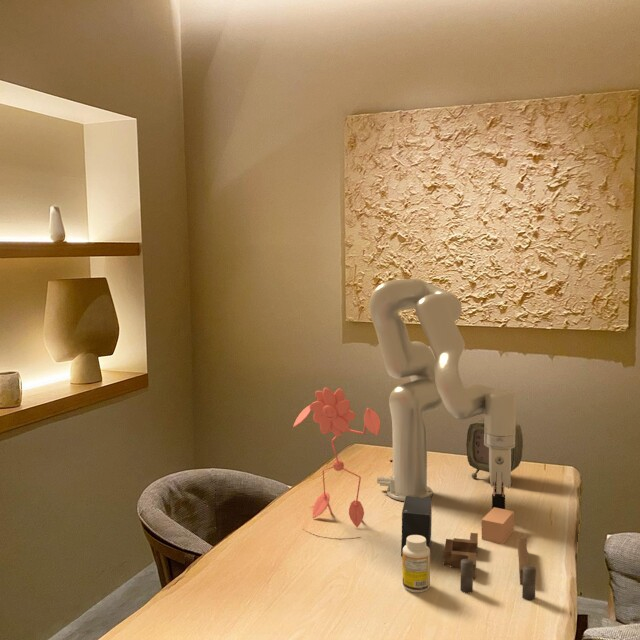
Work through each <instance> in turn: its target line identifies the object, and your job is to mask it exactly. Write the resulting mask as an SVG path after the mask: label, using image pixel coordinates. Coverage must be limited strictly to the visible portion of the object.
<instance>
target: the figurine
mask: <svg viewBox="0 0 640 640" xmlns="http://www.w3.org/2000/svg"><path fill="white" fill-rule="evenodd" d="M314 396H315V399H316V401H313V402H311V404H310V405H307V406H306V407H305V408H303V410H302V411H301V412H300V413H299V414H298V416H297V417H296V419H295V421H294V423H293V427H292V428H295V427H297V426H299V425H300V424H301V423H303V422H304V421H305V420H306V419H307V418H308V416H309V415H310V413H311V412H313V415H312V421H313V422H314V423H316V424H319V429H320V432H321V434H322V435H327V434H329V432H331V433H332V434H333V435H334V437H333V438H331V442H330V444H331V446H332V451H333V454H334V456H335V459H336V460H335V461H334V462H333V464H332V466H329V467H326V468H323V469H322V484H323V485H322V486H323V493H322V494H321V495H320V496H319V497H318V498H317V499H316V500H315V502H314V504H313V505H312V506H309V508H312V509H313V510H312V518H313V519H314V518H317V517H318V516H320V515H321V514H323V513H324V512H325V511H326V509H327V508H328V511H329V514H333V511H332V508H331V506H330V499H331V498H330V494H329V493H328V492H326V487H325V486H326V484H325V471H328V470H329V469H332V468H333V470H335V471H337V472H340V471H343V470H344V471H345V472H348V473H349V474H352V475H354V476H356V477H358V485H357V491H356V492H357V493H356V499H354V500H352V501H351V502H350V505H349V508H348V515H349V518H350V520H351V522H352V523H353V525H354V526H355V527H356V528H358V527H360V525H361V523H362V521H363V519H364V517H365V515H364V514H365V510H364V507H363V504H362V503H361V501H359V492H360V488H361V486H360V485H361V479H362V477H361V476H360V475H358V474H356V473H355V472H352V471H350V470H348V469H346V468H344V467H345V464H344V462H343V461H342V460H341V459H338V455H337V450H336V447H335V443H334V441H336V440H337V438H340V437H341V436H342V434H343V433H348V432H351V433H355V434H358V435H365V434H366V431H367V430H368V431H369V432H370V433H371V434H372V435H375V436H376V437H378V436H379V433H380V430H381V427H382V425H381V419H380V417H379V414H377V412H376V411H375V410H373V409H371V408H370V407H367V408H366V410H365V412H364V413H363V423H364V425H363V430H362V431H359V430H354V429H351V427H350V424H349V423H350V422H353V421H354V420H355V419H356V417H357V415H356V413H355V412H354V411H353V410H350V408H351V402H350V401H351V400H349V399H346V398H345V397H346V395H345V393H344V391H343V389H342V388H337V389H336V391H335V392H333V391H332V390H331V389H329V388H328V387H324V388H323V390H316V391H315V393H314ZM302 530H304V531H305V532H306V533H309V534H310V535H313V536H315V537H318V538H322V539H324V538H325V539H328V537H326V536H322V535H321V536H320V535H317V534H314V533H311V532H309V531H307V530H305V528H303V529H302ZM359 538H361V536H358V537H356V539H359ZM330 539H331V540H332V539H333V540H338V541H343V540H344V541H345V540H352V539H355V537H349V538H336V537H334V538H332V537H329V540H330Z"/></svg>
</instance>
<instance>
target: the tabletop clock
mask: <svg viewBox="0 0 640 640" xmlns="http://www.w3.org/2000/svg"><path fill="white" fill-rule="evenodd" d="M484 421H485V417H483V418H479V419H478V420H476V421H473V422H472V423H471V424H469V427H468V430H467V433H466V435H467V436H466V444H465V445H466V457H467V462H468V464H469V466H471V467H472V468H473V469H476V470H475V472H473V473H472V474H471V478H472V479H477V478H478V473H479V472H480V471H482V472H487V473H489V447H486V446H485V445H484ZM523 442H524V439H523V432H522V428H521V425H520V424H519V423H517V422H516V425H515V447H514V448H512V449H511V473H512V472H513V471H514V470H515V469H517V468H518V467H519V466H520V464H521V461H522V458H523V450H524V449H523V447H524V443H523ZM512 485H513V481H512V480H511V486H512Z"/></svg>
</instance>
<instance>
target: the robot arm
mask: <svg viewBox="0 0 640 640" xmlns="http://www.w3.org/2000/svg"><path fill="white" fill-rule="evenodd" d="M368 304H369V305H368V311H369V315H370V319H371V321H372V324H373V326H374V330H375V334H376V336H377V340H378V345H379V349H380V352H381V356H382V360H383V364H384V368H385V370H386V372H387V374H388V376H390V377H391V378H393V379H398V380H399V379H405V378H409V380H410V381H407V382H403V383H400V384H399V385H398V386H395V388H393V389H392V391H391V392H390V395H389V400H388V406H389V411H390V416H391V423H392V424H391V427H392V434H391V435H392V476H388V477H384V476H377V478H376V482H377V485H378V484H379V486H380V487H387V488H386V494H387V496H388V497H389V498H391V499H394V500H396V501H401V502H404V501H405V497H406V496H411V497H421V498H432V496H433V490H432V488H431V487H429V486H428V485H427V484H428V483H427V482H428V480H427V479H428V477H427V475H428V471H427V470H428V431H427V424H426V423H425V420H424V414H427V413H429V412H433V411H435V410H437V409H438V408H439V407H441V405H442V404H443V406H444V407H445V409H446V410H447V412H448V413H449V415H451V416H452V417H453V418H455V419H457V420H461V421H462V420H468V419H470V418H473V417H475V416H478V415H479V416H480V415H484V418H485V421H484V445H485V446H486V447H489V472H488V474H489V481H490V487H491V488H493V490H492V493H491V510H492V509H493V508H494V507H496V508H501V509H506V494H505V489H506V488H507V489H510V488H511V486H512V485H511V481H512V480H511V479H512V478H511V477H512V476H511V475H512V472H511V449H512V448H514V447H515V425H516V423H517V422H516V420H517V418H516V416H517V414H516V413H517V410H516V409H517V397H516V394H515V393H514V392H513V391H511V390H507V389H495V388H491V387H490V386H487V385H482V384H473V385H470V386H466V387H465V385H464V383H463V381H462V378H461V376H460V372H459V362H460V361H459V360H460V358H461V355H462V354H463V352H464V350H465V347H466V343H465V340H464V338H463V336H462V334H461V332H460V330H459V327H458V325H457V323H456V322H457V320H459V318H460V317H461V315H462V310H463V309H462V304H461V302H460V300H459V299H458V297H457V296H456V295H454V294H453V293H452V292H449V291H447V290H446V289H443V288H441V287H439V286H436V285H433V284H431V283H429V282H427V281H425V280H422V279H418V278H417V279H416V278H409V279H408V278H407V279H406V278H405V279H392V280H387V281H385V282H382V283H380V284H379V285H378V286H377V287H376V288H375V289H374V290H373V292H372V293H371V295H370V298H369V302H368ZM407 310H415V314H416V318H417V319H418V323H419V324H420V326H421V329H422V331H423V333H424V335H425V337H426V339H427V342H428V344H429V346H428V345H427V344H425V343H424V342H422V341H415V340H413V341H412V340H411V339H410V335H409V332H408V328H407V325H406V323H405V321H404V320H403V318H402V317H401V316H400V315H399V312H400V311H407Z"/></svg>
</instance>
